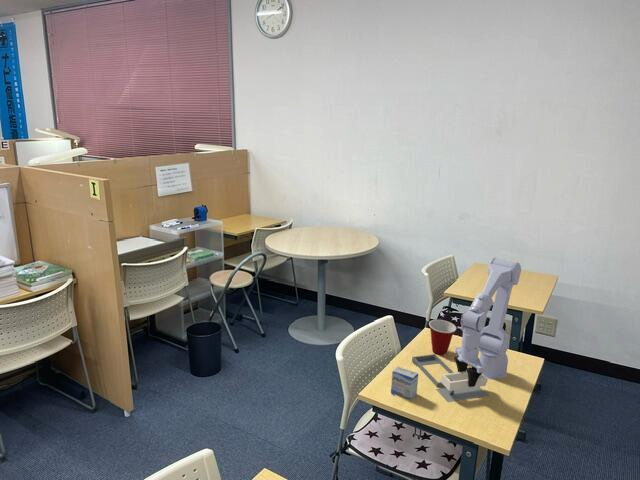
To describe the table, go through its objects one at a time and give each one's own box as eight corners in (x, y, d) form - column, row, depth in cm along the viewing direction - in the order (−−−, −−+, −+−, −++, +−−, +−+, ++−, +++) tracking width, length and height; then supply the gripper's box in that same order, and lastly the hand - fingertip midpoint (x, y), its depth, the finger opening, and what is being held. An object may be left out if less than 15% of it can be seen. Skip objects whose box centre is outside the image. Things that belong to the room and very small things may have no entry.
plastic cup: (444, 361, 185) (446, 333, 182) (421, 351, 193) (423, 324, 190) (459, 352, 192) (461, 325, 189) (436, 343, 200) (438, 317, 197)
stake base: (475, 384, 169) (477, 371, 167) (489, 397, 161) (491, 382, 160) (435, 390, 164) (437, 376, 163) (447, 403, 157) (448, 388, 156)
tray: (434, 358, 187) (434, 354, 186) (461, 385, 168) (462, 380, 168) (411, 361, 184) (412, 356, 184) (436, 388, 166) (437, 383, 165)
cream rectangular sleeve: (480, 376, 167) (481, 369, 166) (489, 385, 161) (490, 377, 161) (441, 382, 163) (441, 374, 162) (449, 391, 157) (450, 383, 157)
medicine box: (390, 393, 162) (391, 370, 160) (396, 387, 166) (397, 365, 164) (411, 401, 158) (413, 378, 156) (416, 395, 161) (418, 372, 159)
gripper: (448, 337, 164) (445, 372, 168) (472, 356, 151) (468, 394, 154) (466, 335, 166) (462, 369, 169) (491, 354, 153) (486, 391, 156)
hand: (466, 381), depth 162 cm, fingers closed on cream rectangular sleeve, 6 cm apart
